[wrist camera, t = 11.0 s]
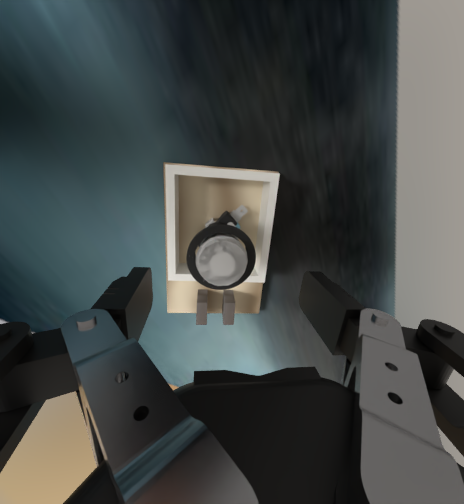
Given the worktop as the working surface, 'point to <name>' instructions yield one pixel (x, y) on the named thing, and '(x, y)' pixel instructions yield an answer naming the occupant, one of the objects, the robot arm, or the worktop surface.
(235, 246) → the push button
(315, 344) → the worktop surface
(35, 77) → the worktop surface
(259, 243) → the white open box
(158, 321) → the worktop surface
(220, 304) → the board
